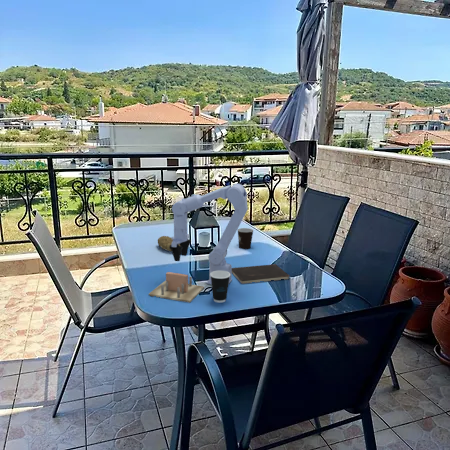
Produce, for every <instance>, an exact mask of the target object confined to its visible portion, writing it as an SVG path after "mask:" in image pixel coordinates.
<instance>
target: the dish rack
mask: <svg viewBox="0 0 450 450" xmlns="http://www.w3.org/2000/svg"><path fill="white" fill-rule="evenodd" d="M192 283H193V277H192V276H188V291H187V292H184V284H182V292H180V287H177V291H173V290H168V281H166V279H165V280H164V281H163V282H161V283H160V284H159V285H158V286H156V287H155V288H153V290H151V291H150V292H149V293H148V296H149V295H150V296H149V297H154V296H156V297H155V298H159V297H160V298H161V299H166V300H171V301H172V300H173V301H178V302H183V303H188V304H190V303H191V302H192V301H193V300H194V299H195V298H196V297H197V296H198V295H199V294H200V293H201V292H202V291H203V290H204V288H205V286H202V285H197V284H192Z"/></svg>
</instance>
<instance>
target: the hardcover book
mask: <svg viewBox="0 0 450 450" xmlns="http://www.w3.org/2000/svg"><path fill="white" fill-rule="evenodd" d="M232 274H233V276H234V277H235V279H237V280H238V282H240V283H241V284H242V285H244V284H251V283H252V282H255V283H261V282H260V281H264V282H272V281H271V280H274V281H281V279H284V280H289V279H290V274H288V273H287V272H285V270H283V269H282V268H281V267H279V265H277V264H275V263H274V264H263V265H252V266H242V267H241V266H239V267H232Z"/></svg>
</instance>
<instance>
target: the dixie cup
mask: <svg viewBox="0 0 450 450" xmlns="http://www.w3.org/2000/svg"><path fill="white" fill-rule="evenodd" d="M210 276H211V283H212V284H211V292H212V299H213V301H214V302H215V303H220V304H221V303H225V302H226V301H227V299H228V289H229V285H230V283H229V277H230V273H229V272H227V271H213V272H211V273H210Z"/></svg>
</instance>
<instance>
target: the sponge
mask: <svg viewBox="0 0 450 450" xmlns="http://www.w3.org/2000/svg"><path fill="white" fill-rule="evenodd" d="M172 237H173V236H171V237H170V236H168V235H162V236H159V237H158V239H157V244H158V246H159V247H161V249H163V250H164V251H167V252H171V253H172V251H171V249H170V245H171V244H172V242H173V239H172ZM179 246H180V244H179Z"/></svg>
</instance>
